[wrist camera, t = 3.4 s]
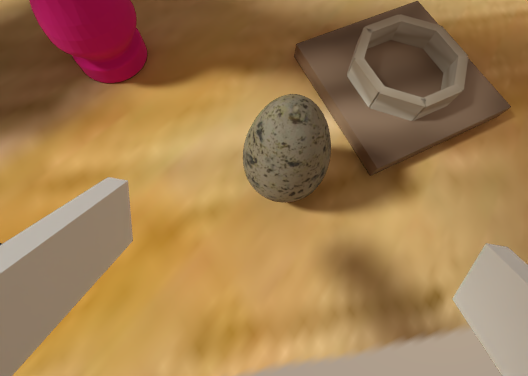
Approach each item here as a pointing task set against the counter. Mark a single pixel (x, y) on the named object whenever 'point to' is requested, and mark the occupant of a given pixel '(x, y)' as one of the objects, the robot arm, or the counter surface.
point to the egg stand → (397, 85)
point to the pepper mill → (95, 35)
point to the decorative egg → (287, 149)
